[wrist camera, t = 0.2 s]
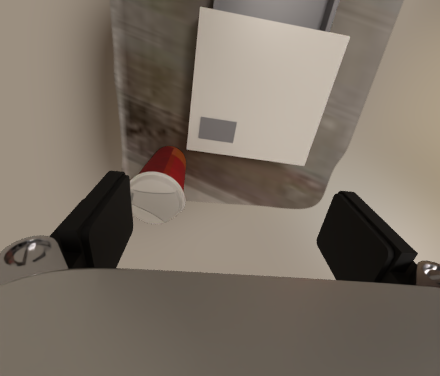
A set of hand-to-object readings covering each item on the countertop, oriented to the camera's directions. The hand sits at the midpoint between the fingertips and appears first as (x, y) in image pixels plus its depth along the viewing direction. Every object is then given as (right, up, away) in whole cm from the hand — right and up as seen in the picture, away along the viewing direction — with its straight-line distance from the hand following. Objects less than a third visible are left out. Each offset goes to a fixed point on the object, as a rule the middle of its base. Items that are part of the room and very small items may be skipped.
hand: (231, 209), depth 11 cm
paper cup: (-9, +6, +32) cm, 34 cm away
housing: (+5, +16, +26) cm, 31 cm away
